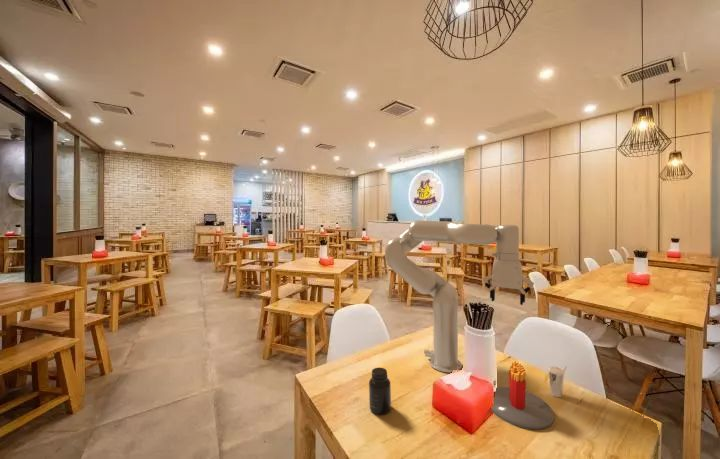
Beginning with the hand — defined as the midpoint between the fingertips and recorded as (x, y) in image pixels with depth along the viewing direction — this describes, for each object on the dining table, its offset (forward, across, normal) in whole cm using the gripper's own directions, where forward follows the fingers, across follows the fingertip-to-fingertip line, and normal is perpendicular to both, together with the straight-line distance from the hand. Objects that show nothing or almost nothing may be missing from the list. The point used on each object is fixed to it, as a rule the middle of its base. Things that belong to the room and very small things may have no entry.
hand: (507, 302), depth 106 cm
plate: (+28, +5, -19) cm, 35 cm away
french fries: (+27, +5, -19) cm, 34 cm away
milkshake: (+28, +16, -4) cm, 33 cm away
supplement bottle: (+28, -31, -43) cm, 60 cm away
